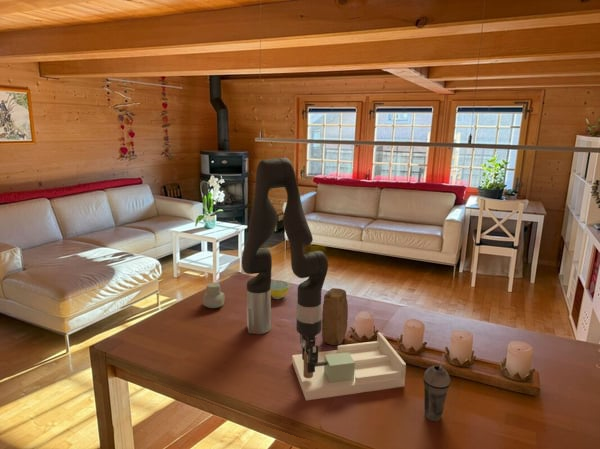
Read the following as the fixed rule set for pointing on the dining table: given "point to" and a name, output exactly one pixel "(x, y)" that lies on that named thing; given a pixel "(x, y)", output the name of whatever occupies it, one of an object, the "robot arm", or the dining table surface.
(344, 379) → the pull block
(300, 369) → the shelf
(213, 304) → the air freshener
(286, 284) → the bowl
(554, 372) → the dining table surface
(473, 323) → the dining table surface
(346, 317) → the brown tall faceted piece
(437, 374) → the beverage cup
